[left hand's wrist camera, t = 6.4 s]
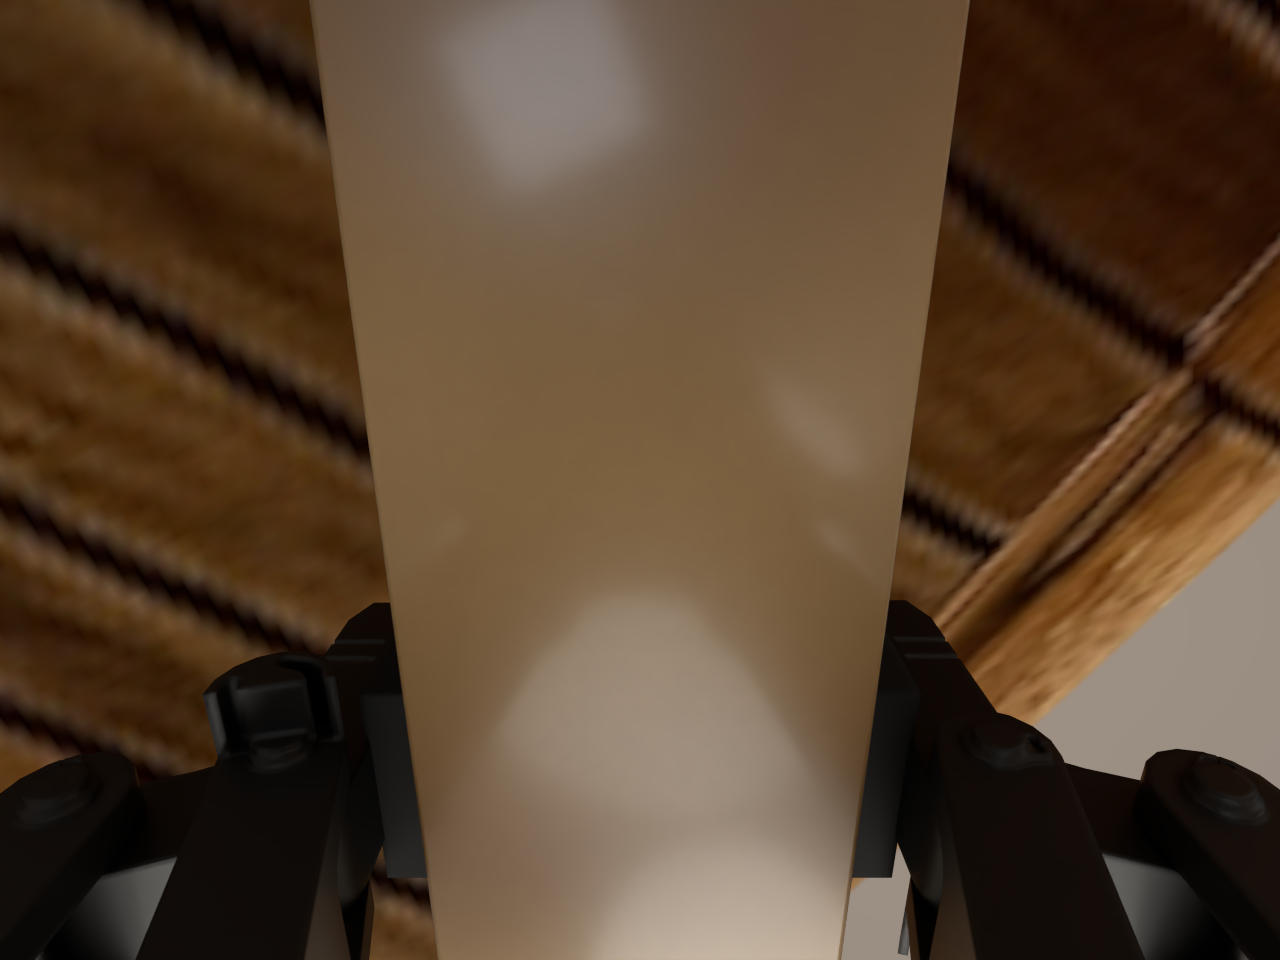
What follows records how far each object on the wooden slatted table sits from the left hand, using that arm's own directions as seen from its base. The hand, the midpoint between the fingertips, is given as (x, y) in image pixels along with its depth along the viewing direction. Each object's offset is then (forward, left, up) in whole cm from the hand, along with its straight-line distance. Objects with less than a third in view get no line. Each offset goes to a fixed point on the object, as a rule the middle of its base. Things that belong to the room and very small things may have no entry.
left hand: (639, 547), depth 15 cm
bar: (-4, +7, -1) cm, 8 cm away
